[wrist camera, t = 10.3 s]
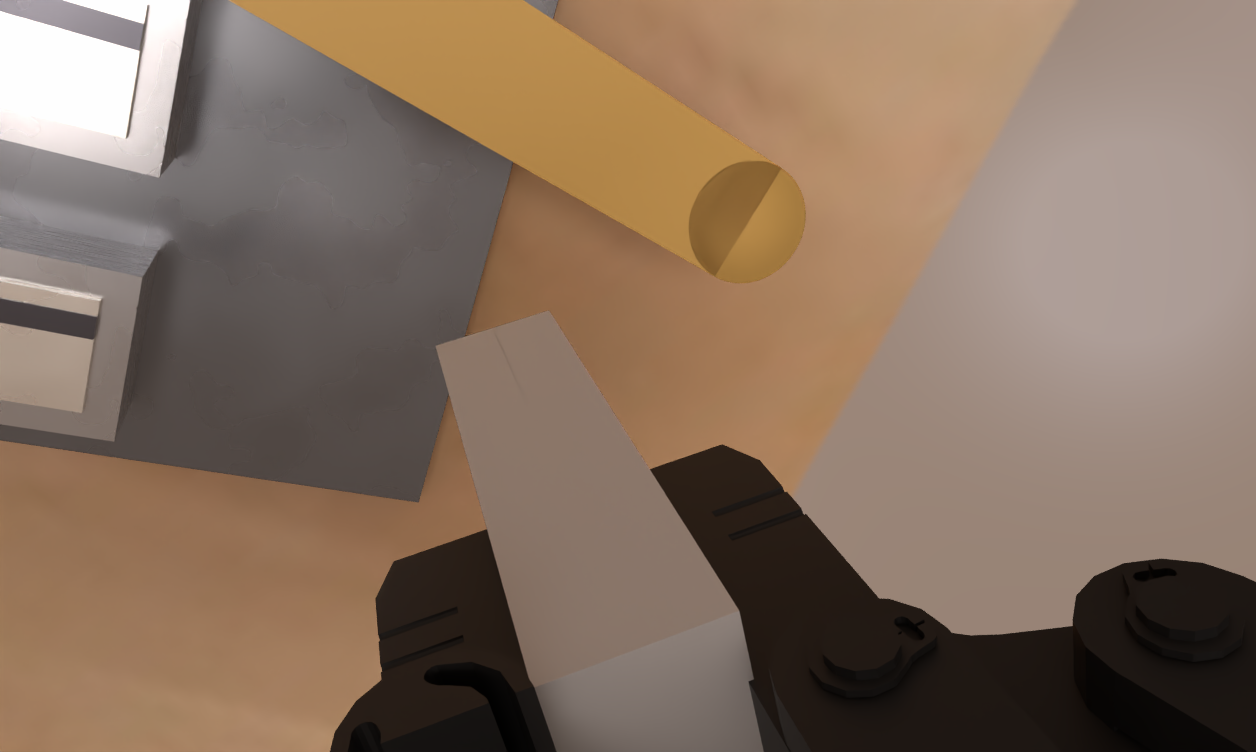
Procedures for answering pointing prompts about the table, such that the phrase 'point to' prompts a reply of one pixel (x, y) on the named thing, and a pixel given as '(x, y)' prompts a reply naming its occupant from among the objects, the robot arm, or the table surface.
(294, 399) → the chassis plate
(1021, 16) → the table surface
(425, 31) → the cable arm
